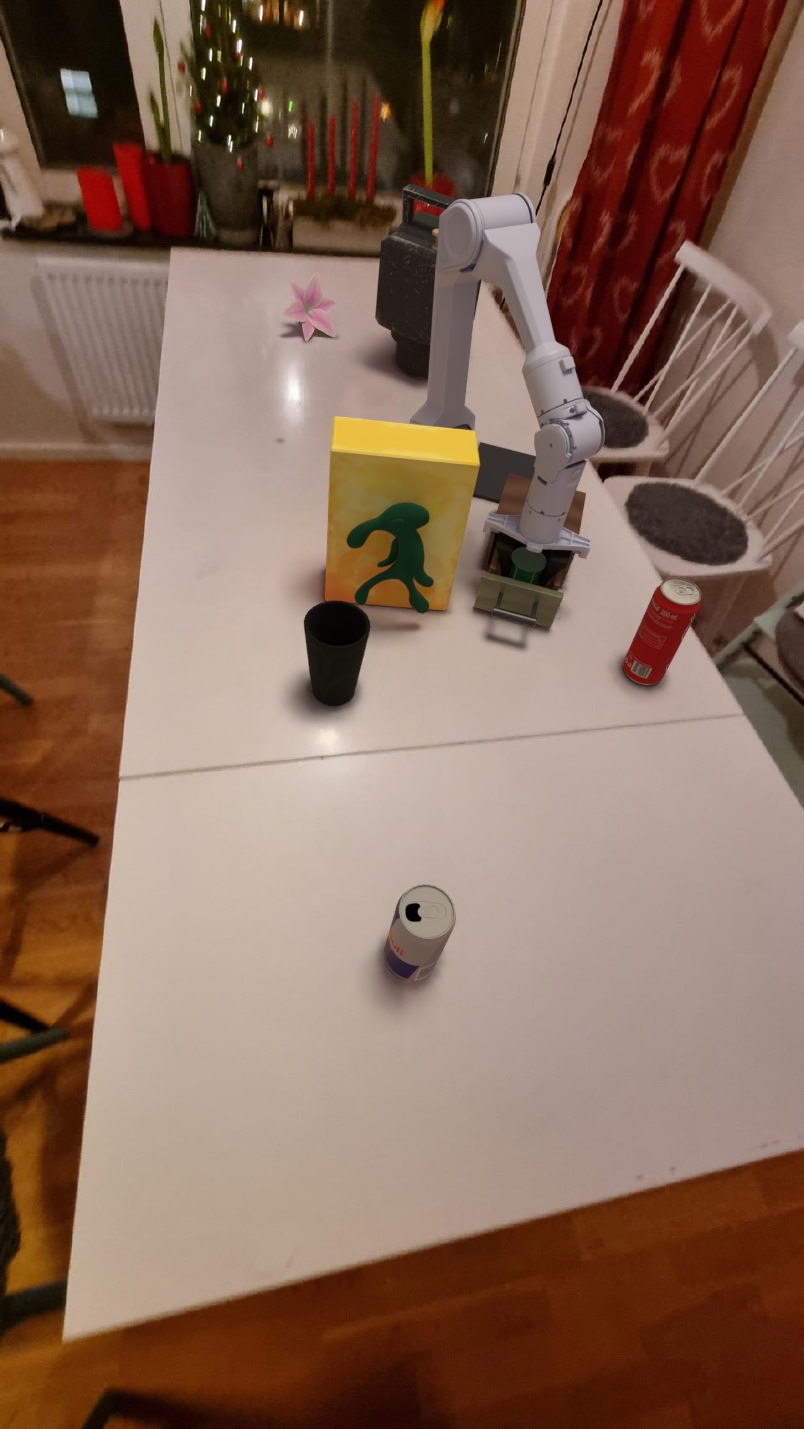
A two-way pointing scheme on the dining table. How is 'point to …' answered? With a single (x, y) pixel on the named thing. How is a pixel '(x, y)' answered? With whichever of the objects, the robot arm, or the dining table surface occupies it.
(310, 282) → the lily
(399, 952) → the energy drink
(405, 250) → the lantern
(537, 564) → the green cylinder
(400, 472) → the mottled yellow carton
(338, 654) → the cup
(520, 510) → the cabinet
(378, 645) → the dining table surface
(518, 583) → the drawer
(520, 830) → the dining table surface
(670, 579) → the beverage can
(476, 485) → the mat
